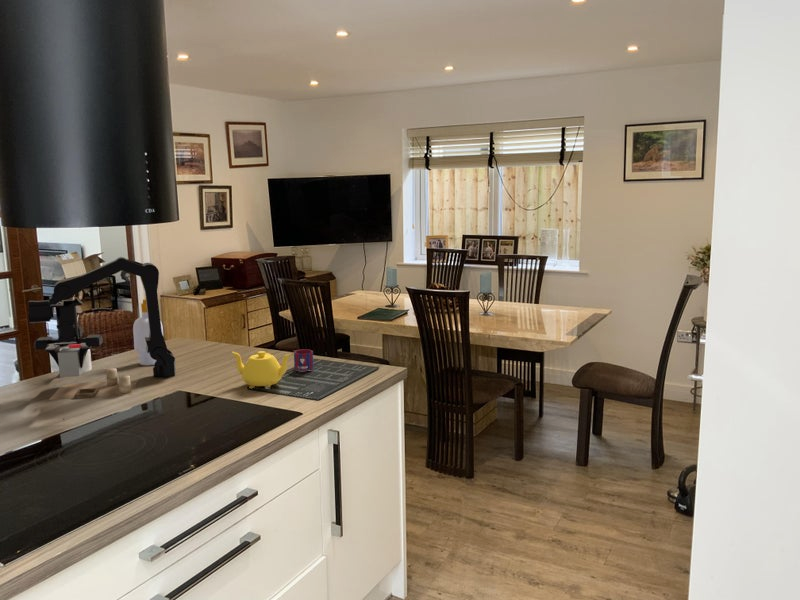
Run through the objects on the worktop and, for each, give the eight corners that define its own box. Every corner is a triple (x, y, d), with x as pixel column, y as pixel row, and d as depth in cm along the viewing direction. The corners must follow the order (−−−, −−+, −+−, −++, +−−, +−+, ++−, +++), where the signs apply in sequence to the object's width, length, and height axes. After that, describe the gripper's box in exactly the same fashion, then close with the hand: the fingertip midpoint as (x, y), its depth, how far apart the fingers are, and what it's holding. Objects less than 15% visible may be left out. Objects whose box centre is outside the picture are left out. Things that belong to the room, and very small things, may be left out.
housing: (83, 371, 207) (81, 347, 205) (79, 376, 201) (77, 352, 200) (64, 372, 206) (62, 348, 204) (59, 377, 200) (57, 353, 199)
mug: (293, 372, 225) (292, 353, 224) (297, 365, 235) (296, 347, 234) (312, 372, 225) (311, 354, 224) (315, 365, 235) (315, 347, 234)
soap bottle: (171, 362, 238) (167, 298, 234) (147, 368, 230) (142, 302, 226) (153, 358, 244) (149, 295, 240) (129, 364, 235) (124, 299, 231)
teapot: (298, 378, 218) (297, 346, 216) (287, 392, 203) (286, 357, 202) (241, 377, 220) (239, 344, 218) (226, 390, 205) (224, 356, 203)
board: (139, 383, 212) (138, 375, 211) (131, 399, 196) (130, 390, 196) (63, 388, 206) (62, 380, 206) (48, 404, 191) (48, 396, 190)
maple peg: (131, 390, 200) (130, 375, 199) (130, 393, 197) (129, 377, 196) (120, 391, 199) (119, 375, 198) (119, 394, 196) (117, 378, 195)
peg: (118, 382, 208) (117, 367, 207) (116, 385, 205) (115, 370, 204) (108, 383, 207) (106, 368, 206) (106, 386, 204) (104, 371, 203)
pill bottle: (74, 378, 218) (71, 347, 216) (63, 374, 222) (60, 343, 220) (96, 373, 224) (93, 342, 222) (85, 369, 228) (82, 339, 226)
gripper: (104, 313, 210) (108, 359, 213) (42, 316, 206) (46, 363, 209) (97, 320, 200) (101, 368, 202) (31, 323, 195) (36, 372, 198)
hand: (71, 368), depth 203 cm, fingers closed on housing, 6 cm apart
